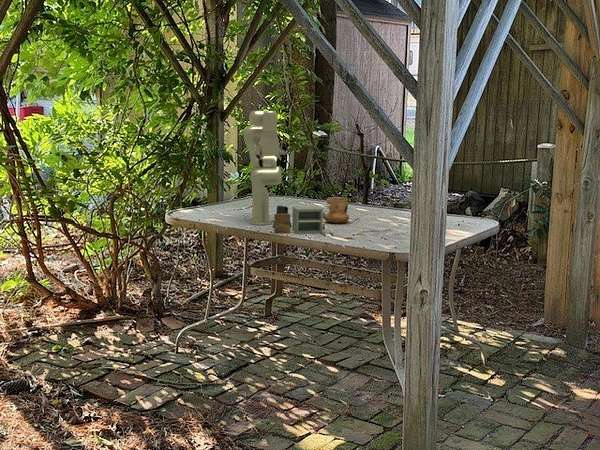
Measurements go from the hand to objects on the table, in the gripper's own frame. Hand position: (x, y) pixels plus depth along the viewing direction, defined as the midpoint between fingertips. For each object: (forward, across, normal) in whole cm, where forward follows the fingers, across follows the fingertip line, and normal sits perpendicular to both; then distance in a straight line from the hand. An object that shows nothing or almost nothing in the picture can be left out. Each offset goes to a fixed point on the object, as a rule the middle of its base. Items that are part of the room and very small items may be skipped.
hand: (269, 166), depth 407 cm
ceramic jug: (+34, -48, -15) cm, 61 cm away
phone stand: (+35, -11, -9) cm, 38 cm away
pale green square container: (+35, -20, +13) cm, 42 cm away
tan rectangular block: (+35, -5, +7) cm, 36 cm away
